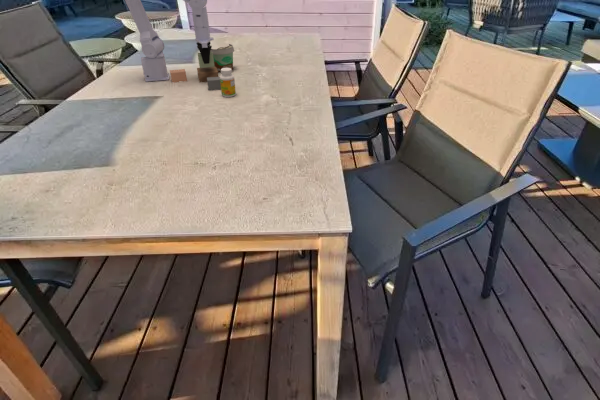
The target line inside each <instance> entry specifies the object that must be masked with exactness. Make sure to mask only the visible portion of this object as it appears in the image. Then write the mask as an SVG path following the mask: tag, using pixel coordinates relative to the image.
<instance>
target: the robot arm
mask: <svg viewBox="0 0 600 400" xmlns="http://www.w3.org/2000/svg"><path fill="white" fill-rule="evenodd" d="M124 1H125V4H126V6H127V8H128V9H129V12H130V14H131V16H132V19H133V22H134V23H135V25H136V28H137V30H138V32H139V42H140V45H141V51H142V54H143V56H144V57H143V56H142V57H141V58H140V61H141V62H140V63H141V66H142V71H143V75H144V80H145V82H156V81H157V82H159V81H168V80H170V72H169V73H168V67H167V62H166V59H165V53H164V50H165V43H164V41H163V40H162V39H161V38H160V36H159V34H158V32H156V30H155V29H153V26H152V24H151V21H150V19H149V17H148V15H147V12H146V9H145V7H144V5H143V3H142V1H141V0H124ZM182 1H183V2H185V3H186V4H188V5H189V7H190V8H191V13H192V14H191V15H192V21H193V29H194V35H195V38H194V41H195V42H196V47H197V49H198V51H199V53H201V56H202V59H203V62H204V64H209V61H210V51H211V49H213V48H212V47H213V46H212V44H211V41H214V37H211V33H210V26H209V25H210V24H209V18H208V17H209V16H208V10H207V4H208V0H182Z"/></svg>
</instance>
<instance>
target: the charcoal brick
mask: <svg viewBox="0 0 600 400" xmlns="http://www.w3.org/2000/svg"><path fill="white" fill-rule="evenodd" d="M206 83H207V88H208V91H216V90H217V91H221V84H220V76H219V77H208V78H207V82H206Z"/></svg>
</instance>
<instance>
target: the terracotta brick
mask: <svg viewBox="0 0 600 400" xmlns="http://www.w3.org/2000/svg"><path fill="white" fill-rule="evenodd" d="M169 76H170V79H171V82H173V83H179V81H183V82H188V78H187V77H188V76H187V72H186V69H185V68H181V69H170V70H169Z"/></svg>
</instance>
